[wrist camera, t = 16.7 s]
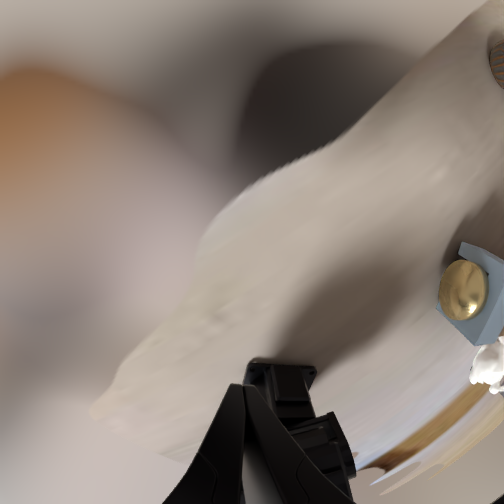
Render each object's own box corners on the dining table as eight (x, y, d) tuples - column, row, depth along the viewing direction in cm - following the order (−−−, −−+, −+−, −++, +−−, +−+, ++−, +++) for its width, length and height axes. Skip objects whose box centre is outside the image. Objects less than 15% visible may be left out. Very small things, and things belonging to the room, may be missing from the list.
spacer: (435, 308, 22) (474, 346, 16) (462, 241, 20) (510, 269, 14) (458, 309, 23) (494, 343, 17) (482, 248, 21) (526, 274, 15)
